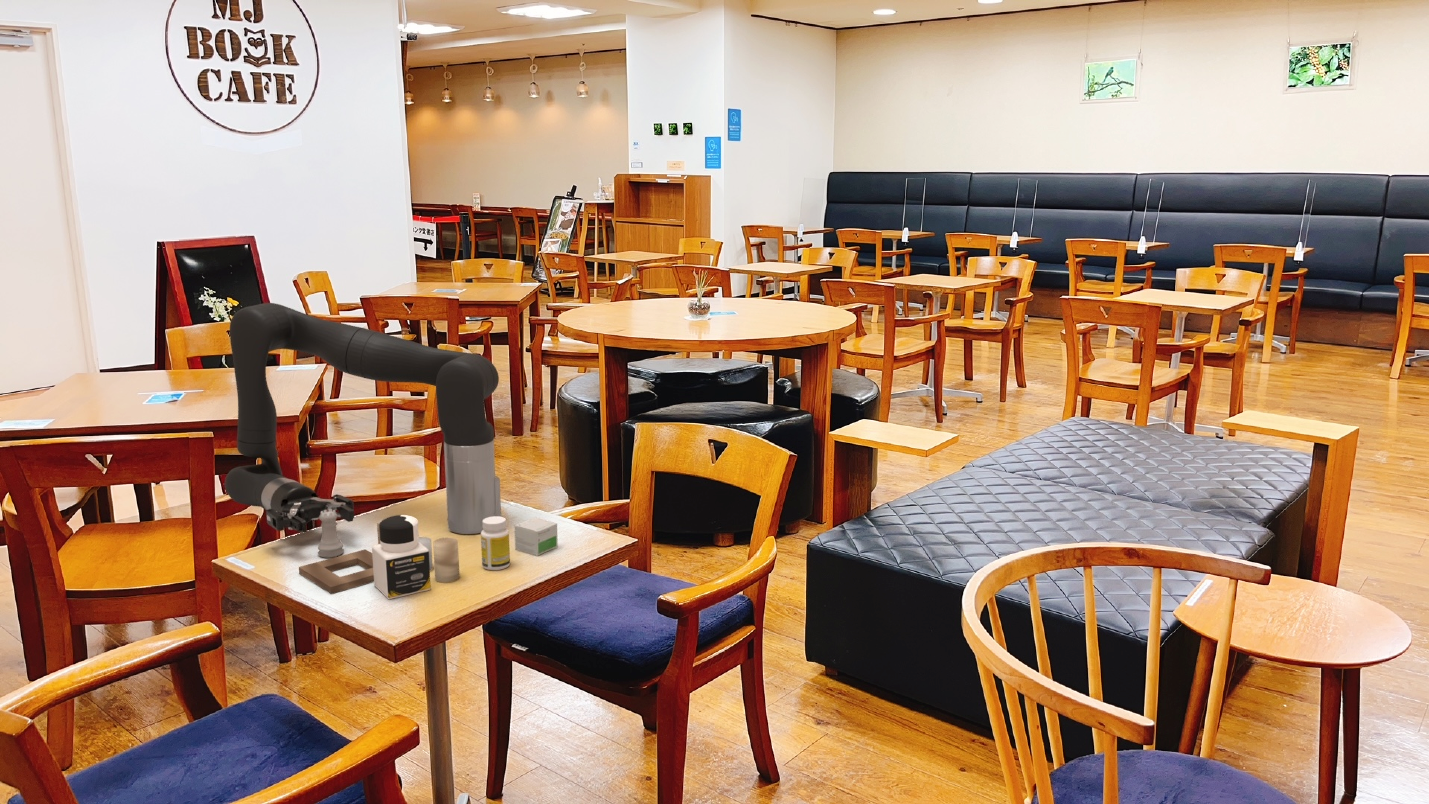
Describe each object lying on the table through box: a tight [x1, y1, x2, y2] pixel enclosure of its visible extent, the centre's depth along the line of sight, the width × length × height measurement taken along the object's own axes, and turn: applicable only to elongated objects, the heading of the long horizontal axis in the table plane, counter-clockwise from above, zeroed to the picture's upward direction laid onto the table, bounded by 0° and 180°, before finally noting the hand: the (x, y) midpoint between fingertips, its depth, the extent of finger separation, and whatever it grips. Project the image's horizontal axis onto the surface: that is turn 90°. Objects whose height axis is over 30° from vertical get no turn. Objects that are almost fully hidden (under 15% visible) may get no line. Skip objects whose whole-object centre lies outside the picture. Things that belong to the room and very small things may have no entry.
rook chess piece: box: [317, 509, 345, 559], centre depth 182 cm, size 4×4×8 cm
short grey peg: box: [419, 536, 434, 571], centre depth 176 cm, size 4×4×5 cm
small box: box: [514, 516, 558, 557], centre depth 186 cm, size 6×6×5 cm
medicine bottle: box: [371, 514, 432, 600], centre depth 167 cm, size 7×7×12 cm
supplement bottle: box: [480, 516, 511, 571], centre depth 177 cm, size 5×5×8 cm
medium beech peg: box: [432, 537, 461, 584], centre depth 172 cm, size 4×4×6 cm
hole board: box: [298, 521, 381, 595], centre depth 173 cm, size 12×12×9 cm
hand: (328, 521), depth 181 cm, fingers open, 8 cm apart
